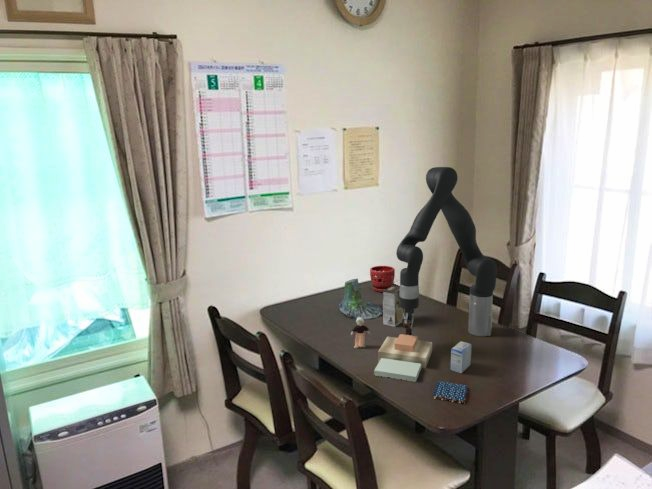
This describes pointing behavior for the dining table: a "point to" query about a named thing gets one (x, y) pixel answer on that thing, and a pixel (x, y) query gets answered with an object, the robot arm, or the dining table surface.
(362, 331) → the grandmother figurine
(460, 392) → the woven mat
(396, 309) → the coffee box
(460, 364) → the medicine box
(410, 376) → the mat
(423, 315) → the dining table surface
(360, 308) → the tree stump
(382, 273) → the plant pot
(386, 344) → the beige flat block
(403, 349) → the tile
